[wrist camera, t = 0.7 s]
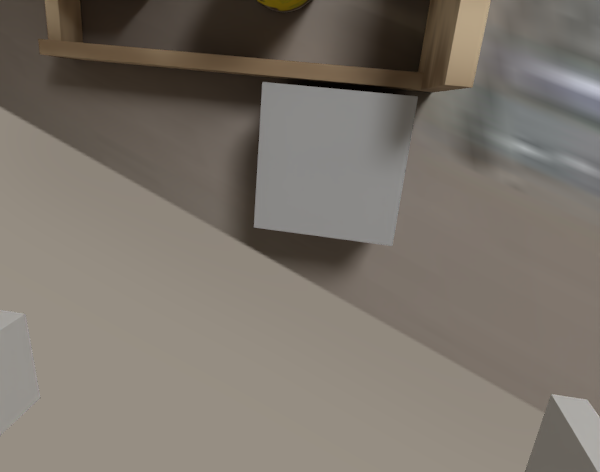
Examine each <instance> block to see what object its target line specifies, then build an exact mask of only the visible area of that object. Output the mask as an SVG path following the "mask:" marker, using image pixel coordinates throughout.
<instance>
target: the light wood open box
mask: <svg viewBox="0 0 600 472" xmlns="http://www.w3.org/2000/svg"><path fill="white" fill-rule="evenodd" d="M490 2H491V0H430V5H429V11H428V17H427V22H426V28H425V34H424V40H423V46H422V52H421V58H420V64H419V70H418V72H410V71H398V70H387V69H375V68H364V67H353V66H341V65H330V64H319V63H307V62H296V61H284V60H273V59H262V58H250V57H239V56H227V55H216V54H205V53H193V52H182V51H171V50H159V49H148V48H136V47H125V46H114V45H102V44H91V43H83V35H82V20H81V5H80V0H45V8H46V19H47V30H48V40H45V39H38V41H39V51H40V54H41V55H48V56H55V57H62V58H69V59H78V60H89V61H100V62H110V63H121V64H132V65H143V66H153V67H164V68H175V69H186V70H197V71H207V72H218V73H229V74H240V75H250V76H261V77H272V78H283V79H294V80H304V81H315V82H326V83H337V84H347V85H358V86H369V87H380V88H391V89H401V90H412V91H423V92H439V91H447V90H455V89H462V88H470V87H473V82H474V78H475V73H476V68H477V63H478V59H479V54H480V49H481V44H482V40H483V35H484V30H485V25H486V21H487V16H488V11H489V6H490Z"/></svg>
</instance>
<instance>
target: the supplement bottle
mask: <svg viewBox="0 0 600 472" xmlns="http://www.w3.org/2000/svg"><path fill="white" fill-rule="evenodd" d="M257 1H258V2H259V3H260V4H262V5H263V6H265V7H266V8H268V9H270V10H273V11H277V12H291V11H294V10H297V9H299V8H301V7H303V6H304V5H306V4H307V3H308V2H309V1H310V0H257Z"/></svg>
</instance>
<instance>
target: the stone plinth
mask: <svg viewBox="0 0 600 472" xmlns="http://www.w3.org/2000/svg"><path fill="white" fill-rule="evenodd" d="M417 100H418V96H408V95H397V94H386V93H376V92H365V91H355V90H344V89H333V88H323V87H312V86H301V85H291V84H280V83H270V82H262V96H261V113H260V130H259V147H258V164H257V181H256V198H255V215H254V228H262V229H269V230H277V231H284V232H291V233H299V234H306V235H314V236H321V237H329V238H336V239H344V240H351V241H359V242H366V243H373V244H381V245H388V246H392V245H393V239H394V233H395V228H396V222H397V216H398V210H399V204H400V199H401V193H402V187H403V181H404V175H405V170H406V164H407V158H408V152H409V146H410V141H411V135H412V129H413V123H414V117H415V112H416V106H417Z"/></svg>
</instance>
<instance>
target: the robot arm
mask: <svg viewBox="0 0 600 472" xmlns="http://www.w3.org/2000/svg"><path fill="white" fill-rule="evenodd" d="M39 399H40V393H39V387H38V381H37V376H36V370H35V364H34V359H33V353H32V347H31V342H30V336H29V330H28V325H27V319H26V314H24V313H18V312H11V311H4V310H0V436H1V435H2V433H4V432H5V431H6V430H7V429H8V428H9V427H10V426H11V425H12V424H13V423H14V422H15V421H16V420H17V419H19V418H20V417H21V416H22V415H23V414H24V413H25V412H26V411H27V410H28V409H29V408H30V407H31V406H32V405H33V404H34V403H35V402H37V401H38V400H39ZM525 472H600V417H599V416H598V414H597V413H596V411H595V410H594V408H593V407H592V406H591V404H590V403H589V401H588V400H586V399H580V398H573V397H567V396H560V395H554V394H551V396H550V399H549V402H548V405H547V408H546V411H545V414H544V417H543V420H542V423H541V426H540V429H539V432H538V435H537V438H536V440H535V443H534V447H533V450H532V452H531V455H530V458H529V461H528V465H527V467H526V470H525Z"/></svg>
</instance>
